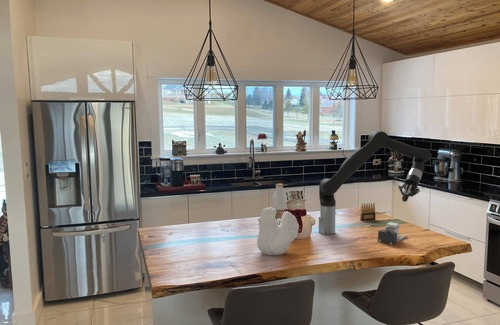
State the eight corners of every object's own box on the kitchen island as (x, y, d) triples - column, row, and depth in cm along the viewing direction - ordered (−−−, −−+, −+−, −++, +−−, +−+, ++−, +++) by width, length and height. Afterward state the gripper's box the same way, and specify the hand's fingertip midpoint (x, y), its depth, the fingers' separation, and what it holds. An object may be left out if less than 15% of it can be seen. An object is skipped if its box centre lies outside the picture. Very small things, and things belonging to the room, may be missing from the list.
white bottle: (269, 225, 261) (269, 183, 258) (281, 223, 265) (282, 182, 262) (276, 229, 252) (276, 185, 249) (289, 227, 257) (289, 184, 253)
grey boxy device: (392, 236, 235) (393, 219, 233) (407, 240, 228) (408, 222, 227) (377, 244, 222) (378, 225, 220) (393, 247, 215) (393, 228, 214)
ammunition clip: (361, 220, 270) (361, 203, 269) (360, 220, 272) (360, 203, 271) (375, 219, 273) (376, 202, 271) (374, 219, 275) (374, 202, 273)
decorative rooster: (262, 260, 198) (262, 212, 195) (252, 250, 213) (252, 205, 210) (307, 254, 206) (308, 208, 203) (295, 245, 220) (295, 201, 217)
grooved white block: (390, 237, 228) (390, 222, 226) (398, 239, 224) (399, 223, 223) (385, 239, 224) (386, 223, 223) (394, 241, 220) (395, 225, 219)
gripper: (401, 172, 241) (391, 195, 234) (423, 175, 231) (413, 198, 224) (404, 180, 245) (394, 202, 238) (426, 182, 236) (416, 206, 229)
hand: (404, 200), depth 231 cm, fingers closed
